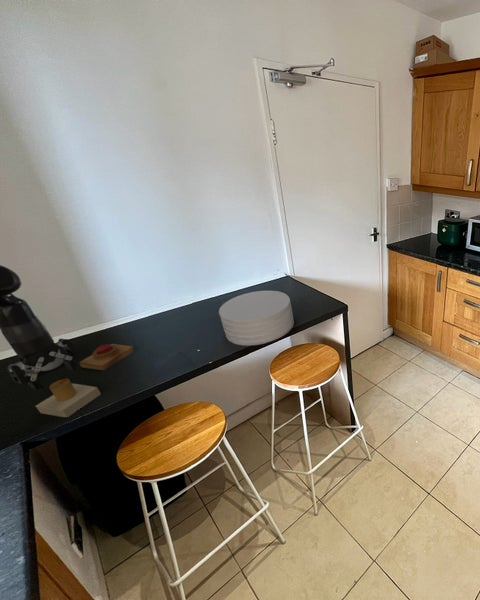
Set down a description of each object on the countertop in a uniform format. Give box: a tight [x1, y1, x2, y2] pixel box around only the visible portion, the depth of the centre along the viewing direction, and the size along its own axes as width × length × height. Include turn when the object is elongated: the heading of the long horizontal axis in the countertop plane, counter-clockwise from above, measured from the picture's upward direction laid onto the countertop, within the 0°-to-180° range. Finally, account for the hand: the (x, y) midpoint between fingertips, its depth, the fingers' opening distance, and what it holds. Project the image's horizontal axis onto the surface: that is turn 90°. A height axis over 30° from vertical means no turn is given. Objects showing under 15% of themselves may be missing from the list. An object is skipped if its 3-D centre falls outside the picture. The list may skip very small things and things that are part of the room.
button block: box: [78, 343, 135, 371], centre depth 118 cm, size 12×10×4 cm
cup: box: [22, 349, 64, 372], centre depth 112 cm, size 11×8×8 cm
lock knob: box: [49, 377, 77, 401], centre depth 96 cm, size 4×4×5 cm
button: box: [95, 343, 112, 354], centre depth 117 cm, size 4×4×2 cm
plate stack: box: [218, 290, 295, 346], centre depth 136 cm, size 28×28×12 cm
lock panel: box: [35, 382, 102, 419], centre depth 98 cm, size 10×10×3 cm
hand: (57, 379), depth 94 cm, fingers open, 8 cm apart
